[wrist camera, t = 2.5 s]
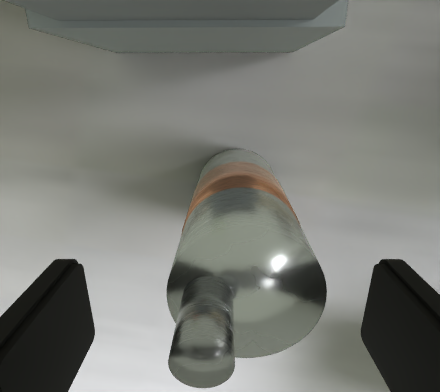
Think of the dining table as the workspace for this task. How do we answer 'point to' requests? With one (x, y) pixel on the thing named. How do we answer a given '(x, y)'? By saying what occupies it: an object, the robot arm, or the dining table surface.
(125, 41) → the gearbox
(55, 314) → the robot arm
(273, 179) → the cocktail shaker
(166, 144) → the dining table surface
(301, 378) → the dining table surface
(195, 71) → the dining table surface
